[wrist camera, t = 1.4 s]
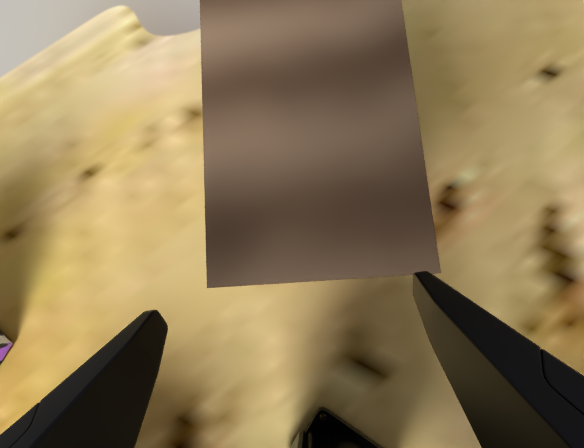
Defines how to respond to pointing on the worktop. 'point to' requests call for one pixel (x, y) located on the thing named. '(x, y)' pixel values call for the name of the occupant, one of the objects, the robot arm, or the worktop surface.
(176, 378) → the worktop surface
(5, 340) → the candy box
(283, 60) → the walnut box
